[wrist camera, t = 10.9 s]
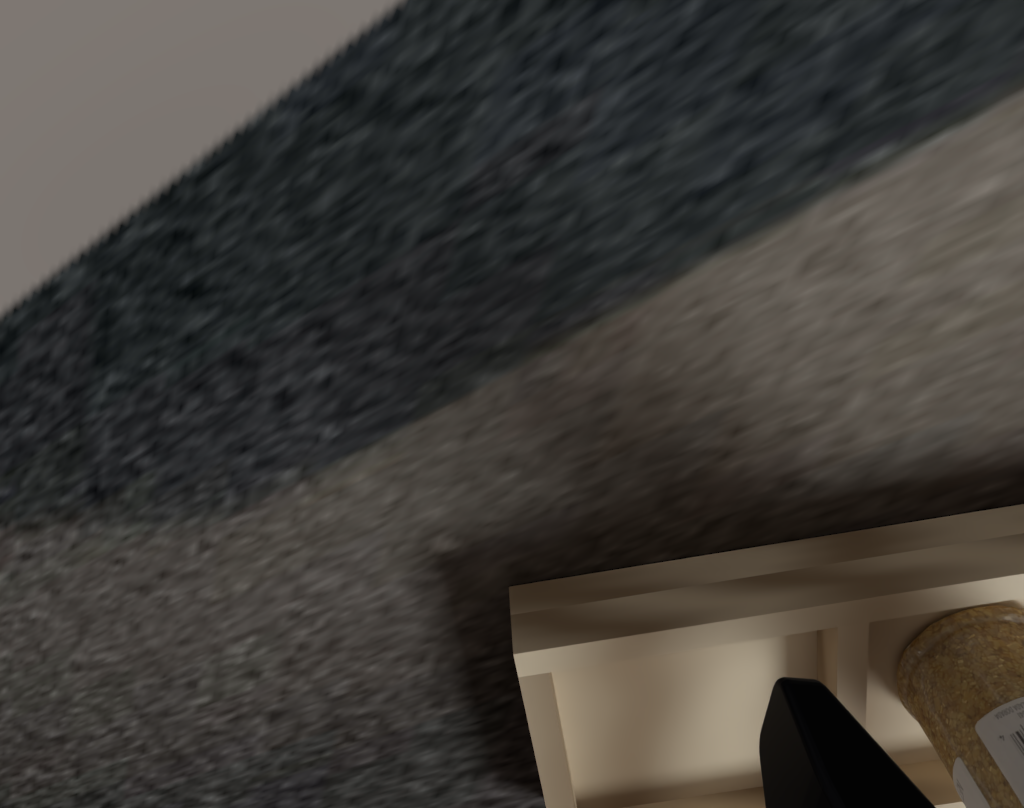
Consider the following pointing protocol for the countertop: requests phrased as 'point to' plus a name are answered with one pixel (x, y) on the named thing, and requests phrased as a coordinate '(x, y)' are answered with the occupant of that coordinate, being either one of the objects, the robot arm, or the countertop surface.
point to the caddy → (742, 655)
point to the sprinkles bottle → (972, 700)
